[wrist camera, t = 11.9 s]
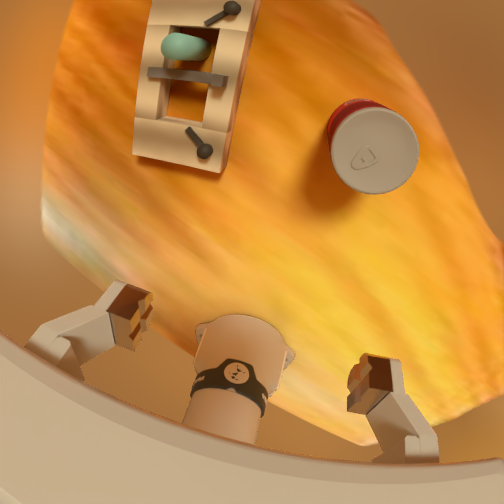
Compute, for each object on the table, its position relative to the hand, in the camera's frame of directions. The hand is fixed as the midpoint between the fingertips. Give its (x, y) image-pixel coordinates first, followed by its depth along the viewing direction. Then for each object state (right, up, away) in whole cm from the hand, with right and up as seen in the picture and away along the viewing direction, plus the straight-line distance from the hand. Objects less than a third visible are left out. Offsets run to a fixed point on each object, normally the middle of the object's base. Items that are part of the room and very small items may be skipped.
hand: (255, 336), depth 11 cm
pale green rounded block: (-6, +27, +19) cm, 34 cm away
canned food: (+12, +17, +22) cm, 30 cm away
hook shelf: (-7, +24, +21) cm, 33 cm away
